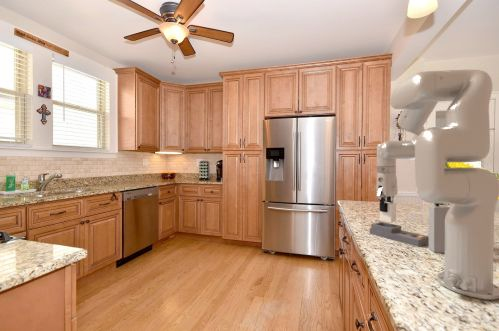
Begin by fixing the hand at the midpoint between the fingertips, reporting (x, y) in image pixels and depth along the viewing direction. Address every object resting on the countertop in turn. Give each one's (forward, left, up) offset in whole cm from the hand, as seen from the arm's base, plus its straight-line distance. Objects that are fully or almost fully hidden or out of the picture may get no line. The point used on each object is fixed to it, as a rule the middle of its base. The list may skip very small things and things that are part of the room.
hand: (386, 210), depth 107 cm
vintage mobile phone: (-4, -21, -11) cm, 24 cm away
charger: (0, -1, -4) cm, 4 cm away
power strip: (0, -5, -12) cm, 13 cm away
